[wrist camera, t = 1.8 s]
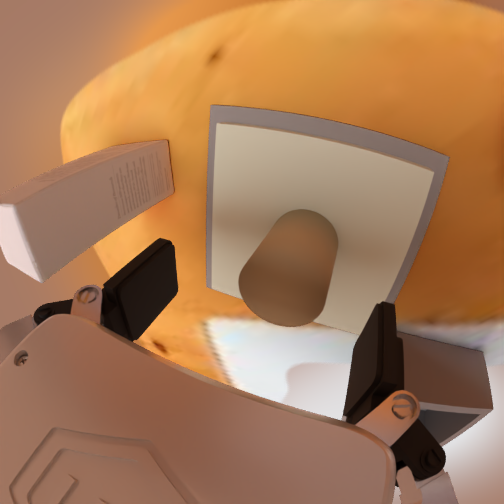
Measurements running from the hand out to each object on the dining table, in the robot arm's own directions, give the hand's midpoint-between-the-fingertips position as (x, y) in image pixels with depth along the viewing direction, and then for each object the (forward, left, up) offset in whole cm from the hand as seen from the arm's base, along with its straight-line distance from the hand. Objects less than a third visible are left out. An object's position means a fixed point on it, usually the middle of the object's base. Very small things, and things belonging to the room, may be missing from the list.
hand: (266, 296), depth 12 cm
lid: (-1, 0, -6) cm, 6 cm away
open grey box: (-14, +11, -7) cm, 19 cm away
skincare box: (+12, -2, -7) cm, 14 cm away
